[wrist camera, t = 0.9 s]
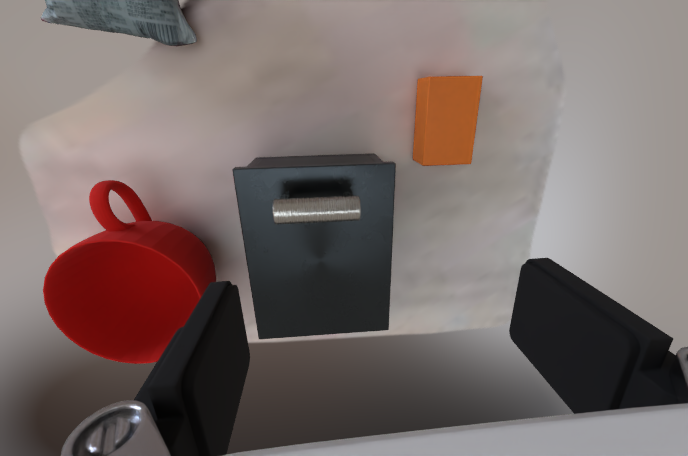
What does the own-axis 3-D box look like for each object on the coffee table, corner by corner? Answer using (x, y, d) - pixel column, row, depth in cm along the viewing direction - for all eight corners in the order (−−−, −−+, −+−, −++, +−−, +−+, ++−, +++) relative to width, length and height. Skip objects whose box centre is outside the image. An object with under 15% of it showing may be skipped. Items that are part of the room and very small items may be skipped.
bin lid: (234, 166, 25) (216, 182, 20) (393, 161, 26) (409, 174, 21) (260, 333, 31) (250, 373, 27) (387, 324, 32) (398, 361, 27)
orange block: (417, 78, 32) (429, 76, 28) (466, 78, 32) (483, 75, 29) (412, 159, 35) (422, 165, 31) (457, 157, 35) (471, 164, 32)
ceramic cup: (210, 159, 33) (169, 183, 24) (241, 296, 39) (218, 356, 30) (81, 169, 32) (-13, 198, 23) (134, 306, 39) (77, 372, 29)
